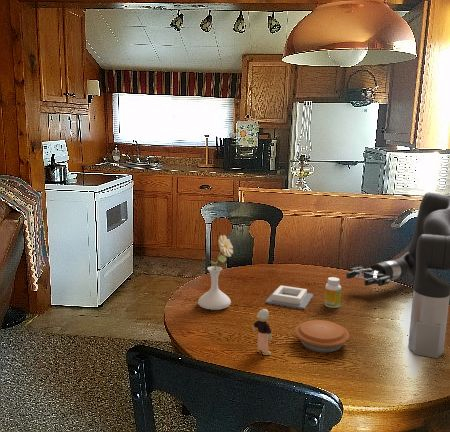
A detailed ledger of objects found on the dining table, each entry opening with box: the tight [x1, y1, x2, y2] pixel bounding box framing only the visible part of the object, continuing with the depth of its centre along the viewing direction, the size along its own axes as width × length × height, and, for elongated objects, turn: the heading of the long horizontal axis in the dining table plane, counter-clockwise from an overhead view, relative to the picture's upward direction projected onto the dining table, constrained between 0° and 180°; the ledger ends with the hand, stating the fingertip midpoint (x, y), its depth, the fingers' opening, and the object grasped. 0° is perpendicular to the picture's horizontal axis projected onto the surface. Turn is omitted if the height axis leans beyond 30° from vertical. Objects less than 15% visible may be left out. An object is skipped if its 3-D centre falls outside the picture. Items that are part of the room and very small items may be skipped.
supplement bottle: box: [324, 276, 342, 309], centre depth 161 cm, size 5×5×10 cm
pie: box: [294, 319, 350, 353], centre depth 134 cm, size 16×16×5 cm
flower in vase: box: [197, 234, 234, 311], centre depth 158 cm, size 13×11×25 cm
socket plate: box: [264, 284, 314, 311], centre depth 167 cm, size 14×14×3 cm
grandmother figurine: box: [252, 308, 273, 356], centre depth 127 cm, size 8×4×13 cm, turn 47°
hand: (355, 279), depth 167 cm, fingers open, 8 cm apart
